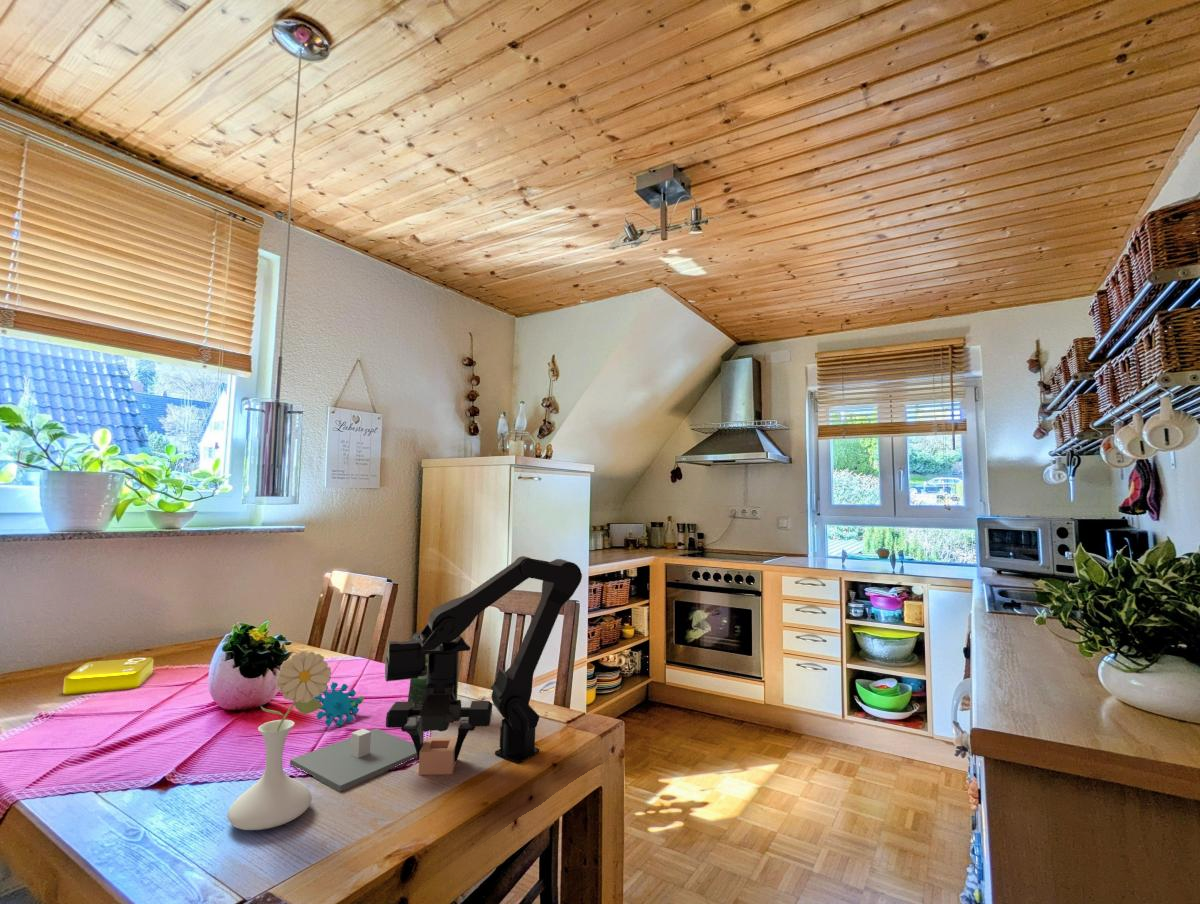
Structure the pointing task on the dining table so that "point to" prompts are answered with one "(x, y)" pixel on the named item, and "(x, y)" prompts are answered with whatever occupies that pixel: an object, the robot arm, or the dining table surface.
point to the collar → (437, 756)
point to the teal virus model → (338, 704)
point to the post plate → (356, 758)
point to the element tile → (108, 675)
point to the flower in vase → (275, 790)
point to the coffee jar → (418, 684)
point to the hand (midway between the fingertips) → (438, 761)
